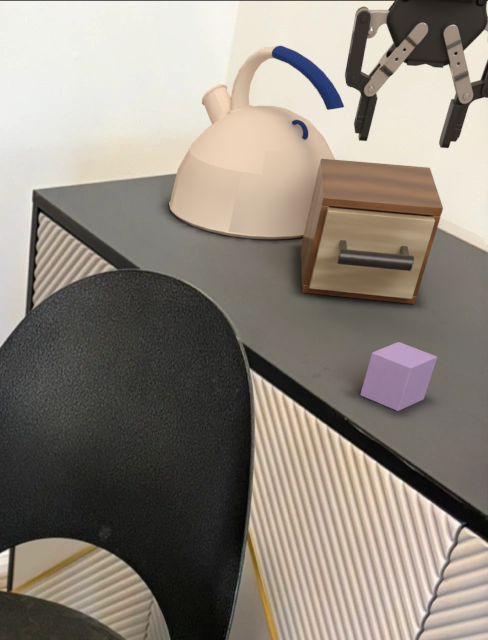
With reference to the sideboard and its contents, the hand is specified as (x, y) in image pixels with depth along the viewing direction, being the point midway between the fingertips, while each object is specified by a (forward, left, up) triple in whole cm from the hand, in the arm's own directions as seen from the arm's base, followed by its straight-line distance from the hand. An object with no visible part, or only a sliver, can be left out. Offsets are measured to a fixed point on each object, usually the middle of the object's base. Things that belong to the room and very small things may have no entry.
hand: (403, 142), depth 105 cm
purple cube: (-2, +21, -16) cm, 26 cm away
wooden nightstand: (0, -10, -16) cm, 19 cm away
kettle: (+12, -29, -16) cm, 35 cm away
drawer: (0, -6, -15) cm, 16 cm away
